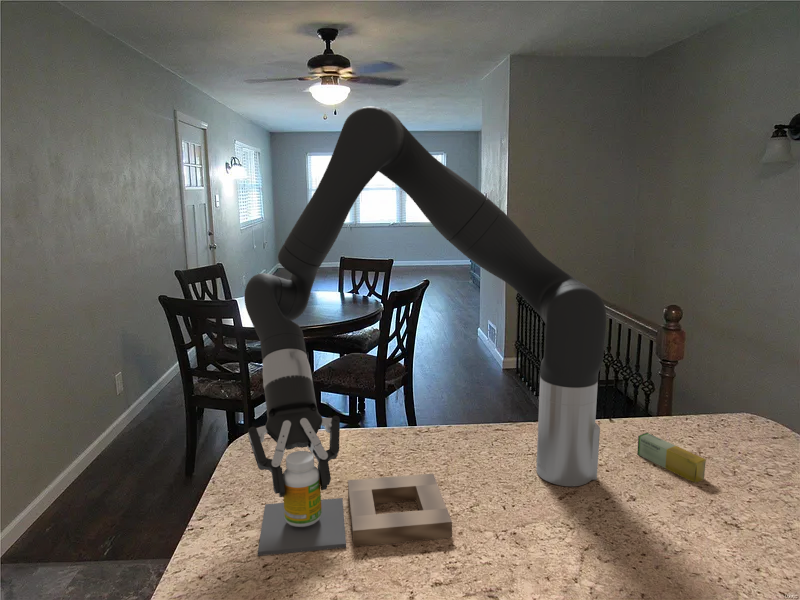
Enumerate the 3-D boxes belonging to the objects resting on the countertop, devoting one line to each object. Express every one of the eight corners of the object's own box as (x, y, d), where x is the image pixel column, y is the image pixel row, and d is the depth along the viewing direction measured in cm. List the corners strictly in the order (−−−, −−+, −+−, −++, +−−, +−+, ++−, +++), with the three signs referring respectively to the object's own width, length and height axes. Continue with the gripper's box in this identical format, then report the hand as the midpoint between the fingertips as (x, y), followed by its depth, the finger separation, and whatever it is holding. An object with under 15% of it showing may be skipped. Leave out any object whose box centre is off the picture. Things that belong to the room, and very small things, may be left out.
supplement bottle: (314, 530, 84) (311, 467, 82) (278, 526, 85) (274, 464, 83) (326, 508, 89) (323, 449, 87) (292, 505, 90) (289, 446, 88)
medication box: (635, 455, 108) (636, 435, 108) (645, 451, 110) (647, 431, 109) (695, 484, 98) (697, 462, 97) (705, 480, 99) (707, 458, 99)
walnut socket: (433, 487, 98) (433, 473, 97) (452, 537, 84) (452, 521, 84) (348, 494, 96) (347, 480, 95) (353, 546, 82) (353, 530, 82)
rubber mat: (342, 501, 94) (342, 497, 94) (346, 547, 82) (346, 543, 82) (265, 507, 92) (265, 504, 92) (257, 555, 81) (257, 551, 80)
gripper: (241, 379, 88) (252, 493, 79) (336, 368, 92) (356, 475, 83) (241, 400, 94) (251, 508, 85) (330, 389, 98) (349, 491, 89)
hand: (303, 491), depth 84 cm, fingers closed on supplement bottle, 5 cm apart
